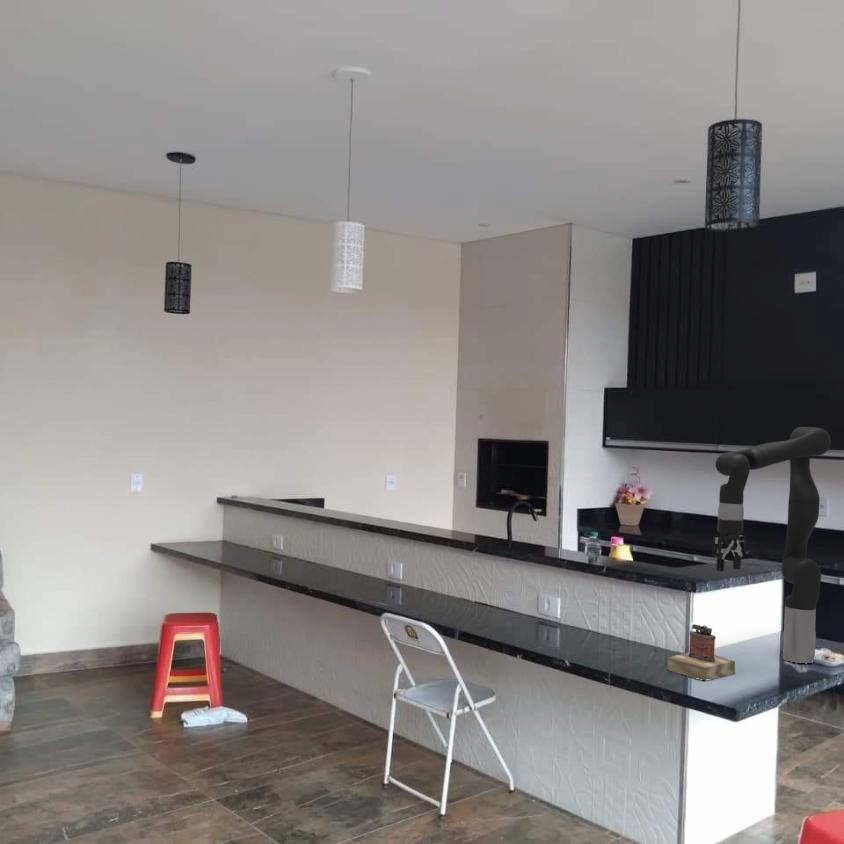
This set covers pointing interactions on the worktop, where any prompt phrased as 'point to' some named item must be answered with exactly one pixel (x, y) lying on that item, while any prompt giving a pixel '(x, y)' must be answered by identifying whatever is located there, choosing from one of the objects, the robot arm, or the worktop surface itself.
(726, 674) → the dock
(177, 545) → the worktop surface
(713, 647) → the lighter
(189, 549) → the worktop surface
